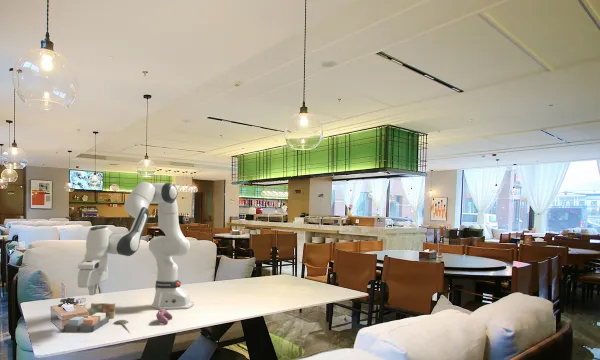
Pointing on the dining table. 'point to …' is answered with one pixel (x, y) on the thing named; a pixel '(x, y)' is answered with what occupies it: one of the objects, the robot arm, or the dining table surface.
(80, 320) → the key blue
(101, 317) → the key cream
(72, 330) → the keypad
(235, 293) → the dining table surface
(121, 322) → the soupspoon
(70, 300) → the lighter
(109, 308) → the stand
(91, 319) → the key terracotta
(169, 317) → the pink neck pillow
